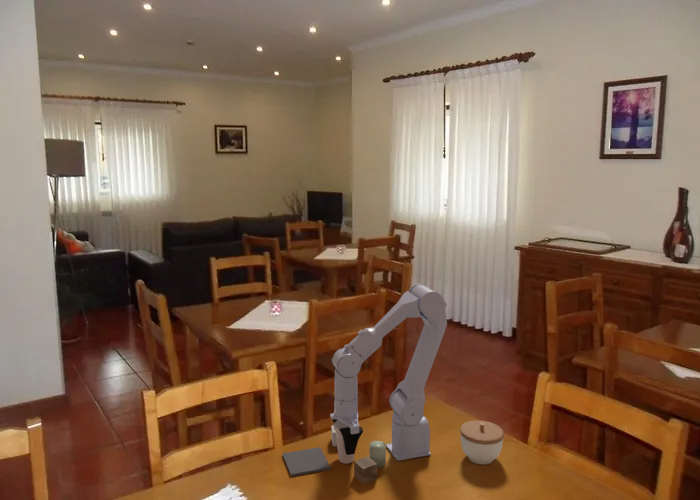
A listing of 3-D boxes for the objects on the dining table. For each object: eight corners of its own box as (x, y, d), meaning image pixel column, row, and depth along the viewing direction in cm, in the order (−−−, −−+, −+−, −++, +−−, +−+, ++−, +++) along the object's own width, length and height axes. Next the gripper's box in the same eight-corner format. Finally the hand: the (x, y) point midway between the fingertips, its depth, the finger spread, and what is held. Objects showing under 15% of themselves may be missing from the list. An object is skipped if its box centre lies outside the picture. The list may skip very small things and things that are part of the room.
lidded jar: (487, 444, 150) (489, 411, 148) (510, 465, 140) (512, 430, 138) (451, 451, 147) (453, 417, 145) (472, 472, 137) (474, 437, 135)
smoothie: (356, 467, 139) (356, 414, 136) (331, 464, 140) (330, 412, 138) (360, 454, 145) (360, 403, 143) (336, 451, 146) (336, 401, 144)
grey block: (345, 438, 153) (345, 424, 153) (347, 445, 149) (347, 431, 149) (331, 439, 153) (331, 425, 152) (333, 446, 149) (332, 432, 148)
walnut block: (367, 471, 137) (367, 456, 137) (377, 479, 134) (377, 463, 133) (353, 476, 135) (353, 461, 135) (363, 484, 132) (363, 469, 131)
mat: (320, 449, 147) (320, 447, 147) (330, 469, 138) (330, 467, 138) (282, 455, 144) (282, 453, 144) (290, 476, 135) (290, 474, 135)
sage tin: (381, 457, 143) (382, 439, 142) (387, 466, 140) (388, 447, 139) (367, 460, 142) (367, 442, 141) (372, 468, 138) (372, 450, 137)
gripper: (322, 387, 145) (323, 436, 147) (339, 411, 131) (339, 464, 134) (348, 383, 147) (348, 431, 150) (367, 407, 134) (367, 459, 136)
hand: (346, 447), depth 142 cm, fingers closed on smoothie, 6 cm apart
